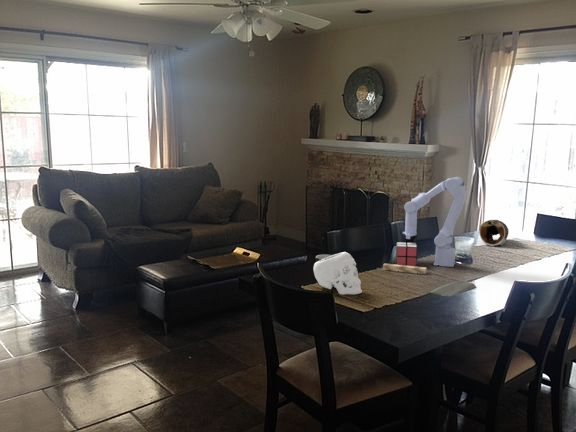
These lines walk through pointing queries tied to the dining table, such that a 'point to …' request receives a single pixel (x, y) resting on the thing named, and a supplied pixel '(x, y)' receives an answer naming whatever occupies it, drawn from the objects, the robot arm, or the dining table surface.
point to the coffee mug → (321, 257)
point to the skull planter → (338, 273)
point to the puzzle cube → (406, 254)
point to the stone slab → (453, 288)
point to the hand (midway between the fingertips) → (410, 250)
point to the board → (404, 268)
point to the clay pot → (493, 232)
